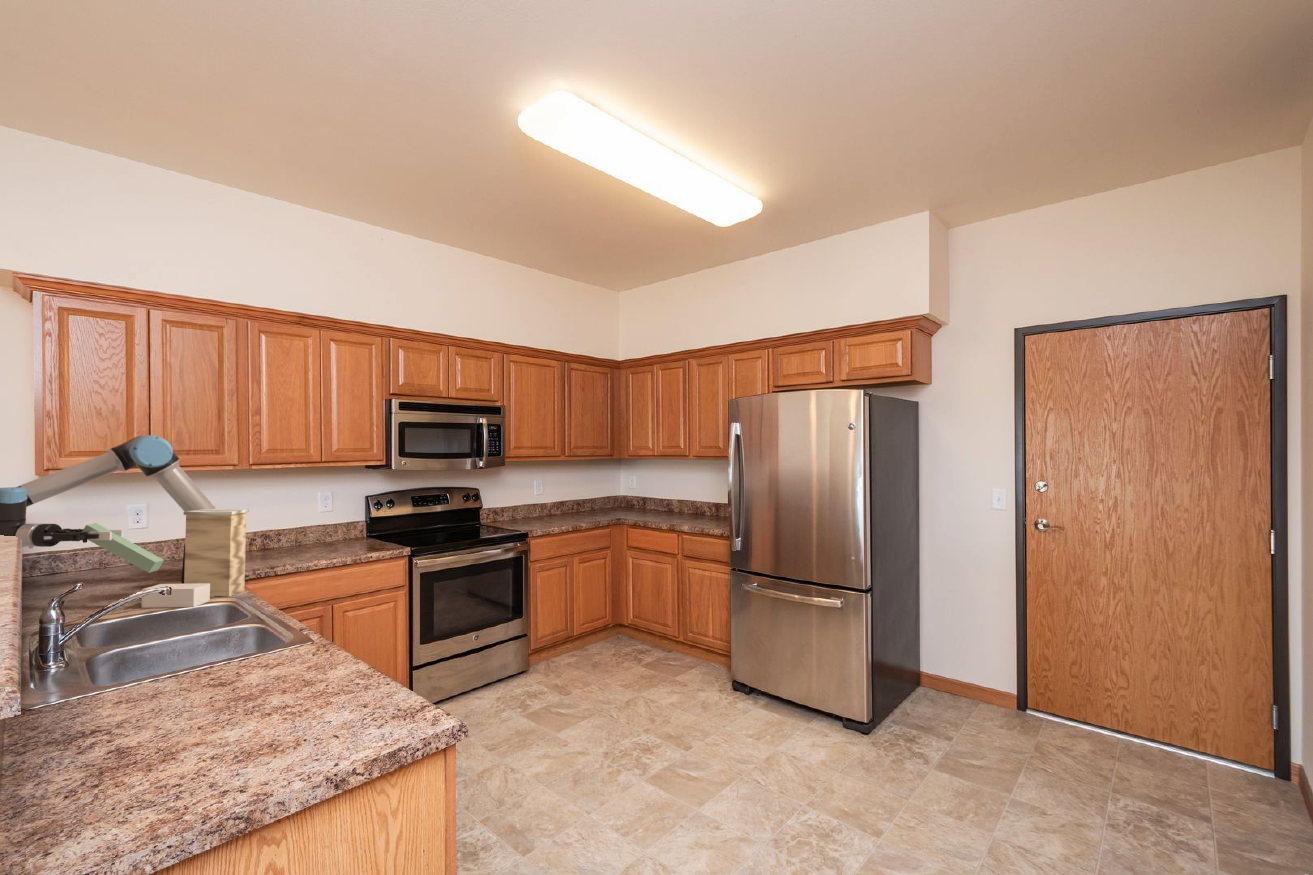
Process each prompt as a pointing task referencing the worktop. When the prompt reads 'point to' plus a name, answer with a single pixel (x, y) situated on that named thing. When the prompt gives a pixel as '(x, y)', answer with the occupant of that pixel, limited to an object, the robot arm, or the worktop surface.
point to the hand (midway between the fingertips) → (116, 534)
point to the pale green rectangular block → (126, 549)
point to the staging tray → (178, 596)
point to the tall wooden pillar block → (216, 549)
